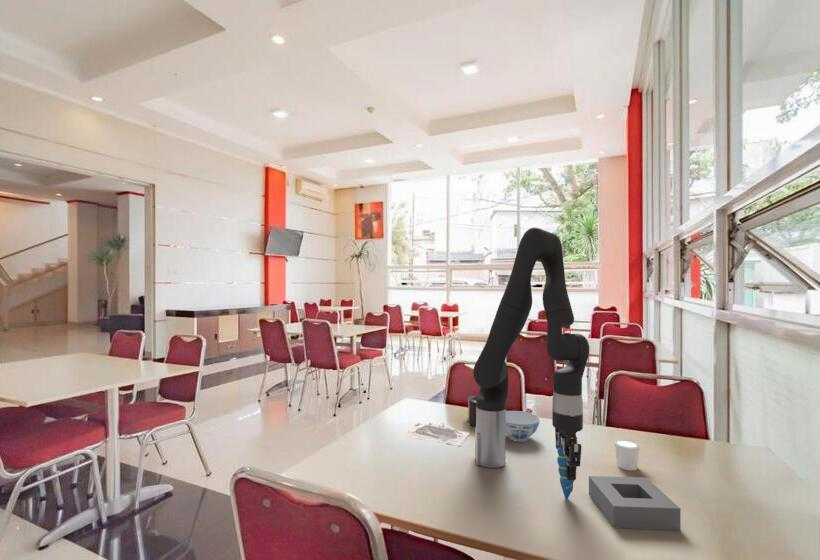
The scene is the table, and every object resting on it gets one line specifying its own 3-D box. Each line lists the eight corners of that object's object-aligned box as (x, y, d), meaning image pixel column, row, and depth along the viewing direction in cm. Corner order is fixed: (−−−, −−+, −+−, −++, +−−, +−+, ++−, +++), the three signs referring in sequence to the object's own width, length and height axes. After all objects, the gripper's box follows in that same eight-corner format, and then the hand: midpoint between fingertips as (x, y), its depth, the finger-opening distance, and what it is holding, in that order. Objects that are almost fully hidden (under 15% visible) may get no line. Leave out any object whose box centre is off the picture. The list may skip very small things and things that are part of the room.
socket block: (613, 527, 95) (613, 506, 95) (588, 494, 110) (588, 475, 110) (680, 530, 94) (680, 508, 94) (646, 496, 109) (646, 477, 109)
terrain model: (414, 428, 164) (413, 415, 164) (471, 432, 157) (470, 419, 157) (400, 443, 148) (400, 428, 148) (463, 448, 141) (463, 433, 142)
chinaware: (544, 436, 152) (544, 415, 152) (532, 449, 139) (533, 427, 139) (505, 428, 160) (505, 408, 160) (491, 440, 147) (491, 418, 148)
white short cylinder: (642, 472, 123) (642, 449, 123) (618, 470, 125) (618, 447, 125) (635, 462, 130) (635, 440, 130) (611, 460, 131) (611, 438, 131)
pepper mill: (497, 427, 161) (498, 381, 161) (469, 426, 162) (469, 380, 162) (492, 414, 177) (493, 373, 177) (466, 414, 177) (467, 372, 178)
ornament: (553, 493, 110) (553, 437, 110) (571, 493, 110) (572, 437, 111) (562, 504, 105) (562, 445, 105) (581, 503, 105) (581, 444, 105)
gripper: (545, 401, 115) (545, 461, 115) (561, 418, 101) (561, 487, 101) (572, 402, 115) (572, 462, 115) (592, 419, 100) (592, 488, 100)
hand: (567, 473), depth 108 cm, fingers open, 5 cm apart
